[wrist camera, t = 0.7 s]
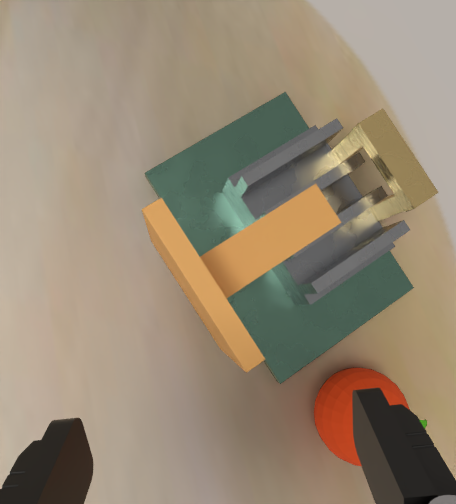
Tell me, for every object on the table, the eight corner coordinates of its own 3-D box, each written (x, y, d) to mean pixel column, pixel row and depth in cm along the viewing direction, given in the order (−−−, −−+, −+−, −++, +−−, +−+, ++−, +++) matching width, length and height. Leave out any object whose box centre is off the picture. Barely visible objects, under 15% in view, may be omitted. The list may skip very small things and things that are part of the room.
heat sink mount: (145, 176, 36) (135, 124, 25) (282, 97, 38) (324, 20, 28) (277, 381, 35) (322, 414, 25) (407, 288, 38) (498, 282, 27)
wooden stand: (151, 240, 34) (141, 209, 22) (260, 174, 36) (303, 113, 24) (220, 348, 34) (246, 372, 22) (326, 276, 36) (402, 263, 24)
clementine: (393, 362, 37) (446, 376, 30) (395, 447, 36) (449, 482, 29) (302, 361, 36) (334, 375, 29) (301, 448, 35) (334, 485, 28)
